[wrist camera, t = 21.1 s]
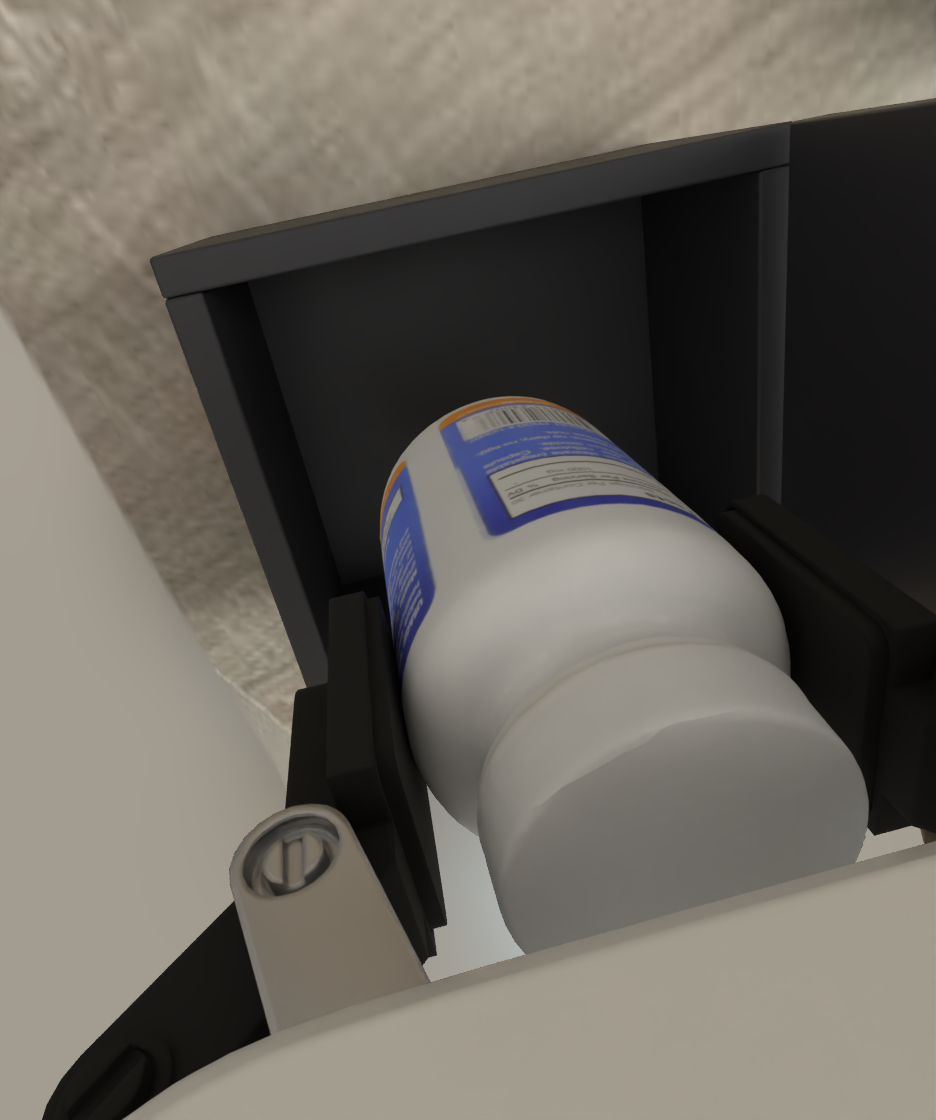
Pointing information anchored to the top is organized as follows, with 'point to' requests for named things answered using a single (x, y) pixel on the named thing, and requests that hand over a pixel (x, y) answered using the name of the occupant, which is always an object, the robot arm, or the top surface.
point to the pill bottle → (598, 681)
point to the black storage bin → (490, 340)
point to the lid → (864, 338)
